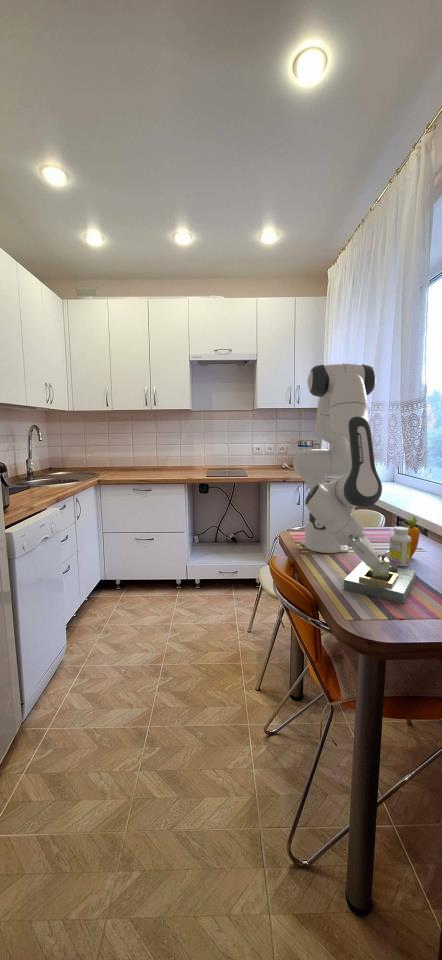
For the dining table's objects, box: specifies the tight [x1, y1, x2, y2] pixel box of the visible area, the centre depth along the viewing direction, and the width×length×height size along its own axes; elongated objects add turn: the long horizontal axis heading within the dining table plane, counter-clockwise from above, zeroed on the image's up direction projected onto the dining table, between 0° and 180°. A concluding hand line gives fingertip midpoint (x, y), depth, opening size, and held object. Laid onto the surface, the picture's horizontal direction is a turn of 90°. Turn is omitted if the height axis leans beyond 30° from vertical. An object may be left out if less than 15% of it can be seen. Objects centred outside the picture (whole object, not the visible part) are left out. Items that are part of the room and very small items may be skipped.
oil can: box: [370, 550, 391, 581], centre depth 112 cm, size 4×5×12 cm
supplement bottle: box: [388, 526, 411, 567], centre depth 133 cm, size 7×7×13 cm
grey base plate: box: [343, 560, 417, 604], centre depth 116 cm, size 22×16×4 cm
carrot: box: [405, 516, 421, 558], centre depth 139 cm, size 5×5×15 cm
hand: (381, 565), depth 112 cm, fingers open, 8 cm apart
